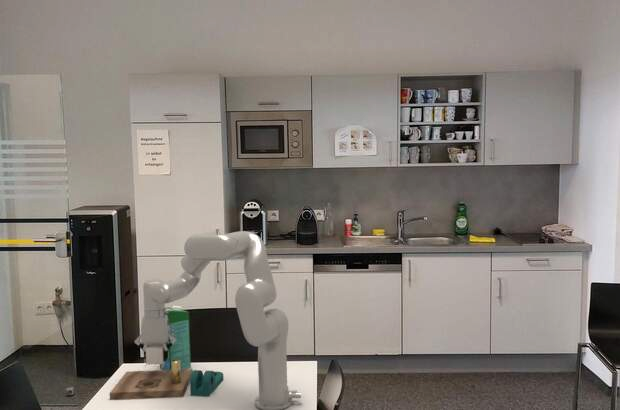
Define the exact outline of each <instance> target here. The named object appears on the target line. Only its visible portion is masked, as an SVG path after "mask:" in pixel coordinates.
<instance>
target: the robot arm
mask: <svg viewBox="0 0 620 410" xmlns="http://www.w3.org/2000/svg"><path fill="white" fill-rule="evenodd" d="M183 249H184V250H183V251H184V254H185V255H183V257H182V258H181V260H180V264H181V268H182V269H183V270H184V271H183V272H182V273H181V275H179V277H177V278H176V279H171V280H169V281H163V279H159V278H157V279H148V280H145V281H144V282H143V284H142V285H143V289H142V290H143V313H144V314H143V316H142V321H141V329H140V334H139V336H138V337H137V338H136V339H135V340H134V344H136V345H137V346H138V347H139V348H140V349H141V350H142V352H143V359H144V360H145V363H146V348H147V346H148V345H149V344H162V345H163V348H164V351H163V359H164V361H166V360H167V358H168V349H169V348H170V347H171V346H172V345H173V344H174V343H175V342H176V340H177V339H176V338H175V337H174V336H173V335H172V334H171V333H170V326H169V320H168V316H167V315H165V314H167V313H169V310H167V309H166V308H165V307H166V304H169V303H173V302H174V301H175V302H176V301H178V300H181V299H184V298H186V297H187V296H188V295H190V294H191V293H193V291H194V289H195V288H196V287H197V286H198V285H199V283H200V281H201V279H202V273H203V271H205V269H206V268H207V267H208V265H209V264H210V263H211V262H215V261H216V262H223V261H224V262H225V261H230V260H234V259H235V258H240V257H243V258H244V260H243V270H244V271H243V272H244V274H245V278H246V282H245V283H243V284H241V285H240V286H239V287H238V288H237V290H236V293H235V296H234V297H235V298H234V300H235V302H234V303H235V308H236V311H237V316H238V318H239V322H240V327H241V330H242V334H243V336H244V338H245V340H246V341H247V343H248V344H249V345H251V346H253V347H256V348H257V370H258V372H257V374H258V396H256V398H254V406H255V407H256V408H257V409H259V410H284V409H286V408H289V407H291V405H292V404H293V399H301V398H302V392H300V391H299V392H298V390H296V389H294V390H291V389H289V386H288V367H287V365H288V360H287V359H288V358H287V357H288V356H287V349H288V348H287V344H288V343H287V342H288V341H287V340H288V335H289V319H288V316H287V315H286V313H285V312H284V311H283V310H281V309H278V308H269V309H266V310H265V307H268V306H270V305H272V304H274V302H275V301H276V299H277V289H276V285H275V281H274V278H273V274H272V270H271V268H270V263H269V259H268V255H267V250H266V246H265V243H264V241H263V239H262V238H261V237H260V236H259V235H257V234H256V233H254V232H252V231H247V230H246V231H245V230H244V231H243V230H240V231H234V232H229V233H224V234H218V233H216V232H213V231H212V232H211V231H207V232H201V233H195V234H192V235H190V236H189V237H188V238H187V239H186V240H185V242H184V247H183ZM169 339H171V342H170V343H169V344H168V343H167V342H168V340H169Z"/></svg>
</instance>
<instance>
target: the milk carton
mask: <svg viewBox="0 0 620 410" xmlns="http://www.w3.org/2000/svg"><path fill="white" fill-rule="evenodd" d="M165 308H166V309H167V310H169V313H167V314H165V315H167V316H168V320H169V326H170V333H171V334H172V335H173V336H174V337H175V338H176V339H177V340H176V342H175V343H174V344H173V345H172V346H171V347H170V348H169V349H168V358H167V360H166V361H164V363H163V364H159V369H161V370H172V360H175V359H179V360H180V370H184V369H191V368H192V367H191V364H192V363H191V361H192V360H191V359H192V358H191V342H190V341H191V340H190V339H191V337H190V336H191V335H190V312H189V311H187V310H184V309H183V307H182V306H178V305H172V307H166V306H165ZM170 342H171V339H169V340H168V342H167V343H168V344H169V343H170Z"/></svg>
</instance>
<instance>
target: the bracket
mask: <svg viewBox="0 0 620 410" xmlns="http://www.w3.org/2000/svg"><path fill="white" fill-rule="evenodd" d="M224 378H225V377H224V373H223V372H221V371H215V370H205V371H204V373H203V370H200V369H194V370H193V372H192V374H191V378H190V383H189V391H190V392H189V393H190V396H191V397H193V396H194V397H204V398H205V397H207V398H209V397H210V396H211V395H212V394H213V393H214V391H216V390H217V388H218V387H219V386H220V385H221V384H222V382H224Z"/></svg>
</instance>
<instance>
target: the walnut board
mask: <svg viewBox="0 0 620 410" xmlns="http://www.w3.org/2000/svg"><path fill="white" fill-rule="evenodd" d="M193 371H194V370H193V369H191V368H189V369H184V370H181V383H179V384H173V383H172V370H163V369H161V370H158V369H157V370H138V371H137V370H136V371H125V373H124V374H123V376H122V377H121V378H120V379H119V381H117V383H116V384H115V385H114V387H113V388H112V389H111V390H110V392H109V400H110V401H113V400H114V401H115V400H118V401H119V400H139V399H140V400H142V399H143V400H144V399H165V398H167V399H168V398H171V399H172V398H184V396H185V394H186V391H187V389H188V387H189V386H190V378H191V374H192V372H193Z"/></svg>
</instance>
